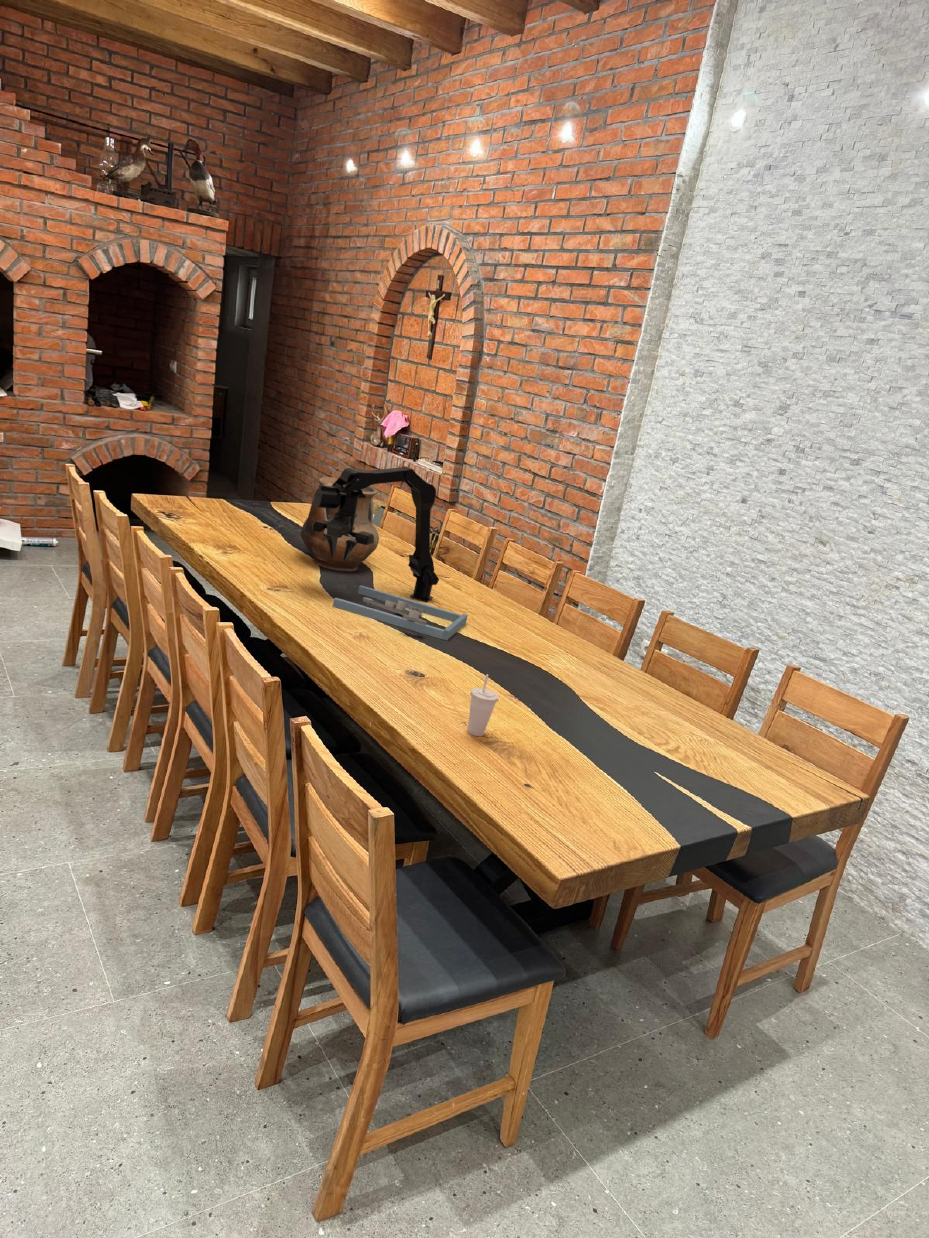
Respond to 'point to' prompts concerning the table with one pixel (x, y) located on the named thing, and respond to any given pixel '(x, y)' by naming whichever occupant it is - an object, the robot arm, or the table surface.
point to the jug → (362, 523)
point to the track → (400, 621)
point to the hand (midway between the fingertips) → (338, 558)
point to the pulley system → (410, 612)
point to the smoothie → (481, 709)
